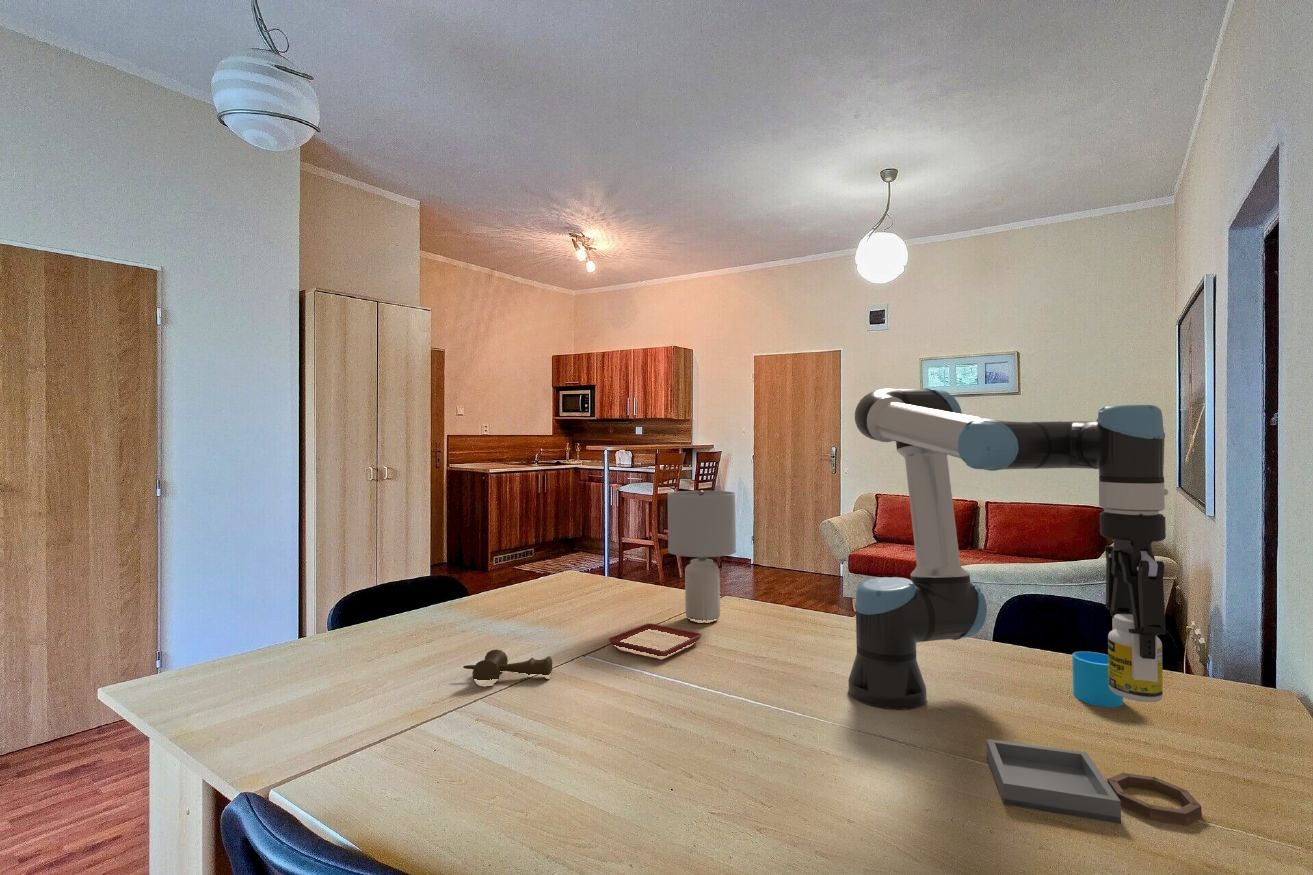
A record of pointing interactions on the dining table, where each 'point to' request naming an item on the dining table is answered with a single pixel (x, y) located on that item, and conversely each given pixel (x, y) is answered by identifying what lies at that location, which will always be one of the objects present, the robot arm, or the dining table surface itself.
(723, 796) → the dining table surface
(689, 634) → the plant saucer
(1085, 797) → the tray
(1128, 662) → the pill bottle
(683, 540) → the lamp
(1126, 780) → the collar socket
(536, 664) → the kendama
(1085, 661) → the mug
